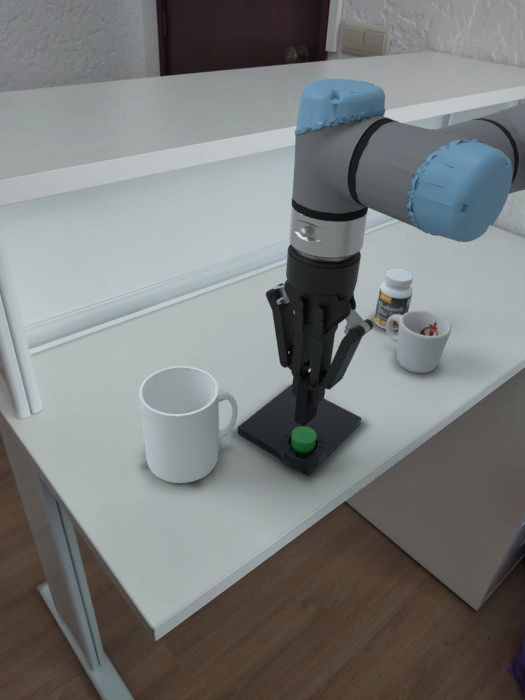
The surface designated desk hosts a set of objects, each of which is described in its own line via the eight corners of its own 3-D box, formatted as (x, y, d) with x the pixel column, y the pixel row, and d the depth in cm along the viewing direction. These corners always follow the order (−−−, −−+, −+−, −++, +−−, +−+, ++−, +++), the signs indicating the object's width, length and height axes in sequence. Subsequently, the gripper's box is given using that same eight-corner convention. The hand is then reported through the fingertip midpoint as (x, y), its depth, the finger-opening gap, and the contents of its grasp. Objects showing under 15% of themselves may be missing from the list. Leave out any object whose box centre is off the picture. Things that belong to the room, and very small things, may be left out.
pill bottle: (371, 328, 104) (380, 279, 98) (376, 312, 108) (384, 264, 102) (403, 334, 102) (414, 285, 97) (406, 318, 107) (417, 270, 101)
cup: (368, 353, 97) (375, 313, 92) (397, 337, 101) (405, 297, 97) (421, 385, 91) (432, 343, 86) (450, 366, 95) (461, 325, 90)
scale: (363, 426, 82) (366, 410, 81) (307, 483, 73) (309, 467, 72) (292, 389, 89) (294, 373, 87) (232, 437, 79) (232, 421, 78)
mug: (133, 452, 76) (124, 383, 70) (209, 417, 83) (208, 350, 76) (169, 498, 70) (163, 427, 64) (249, 456, 77) (251, 388, 70)
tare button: (320, 443, 75) (321, 433, 74) (306, 457, 73) (307, 447, 72) (300, 432, 77) (301, 422, 76) (285, 445, 75) (286, 435, 74)
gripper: (252, 239, 60) (246, 410, 73) (361, 280, 53) (332, 460, 67) (294, 218, 65) (281, 382, 78) (399, 254, 58) (365, 426, 72)
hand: (305, 418), depth 73 cm, fingers closed
